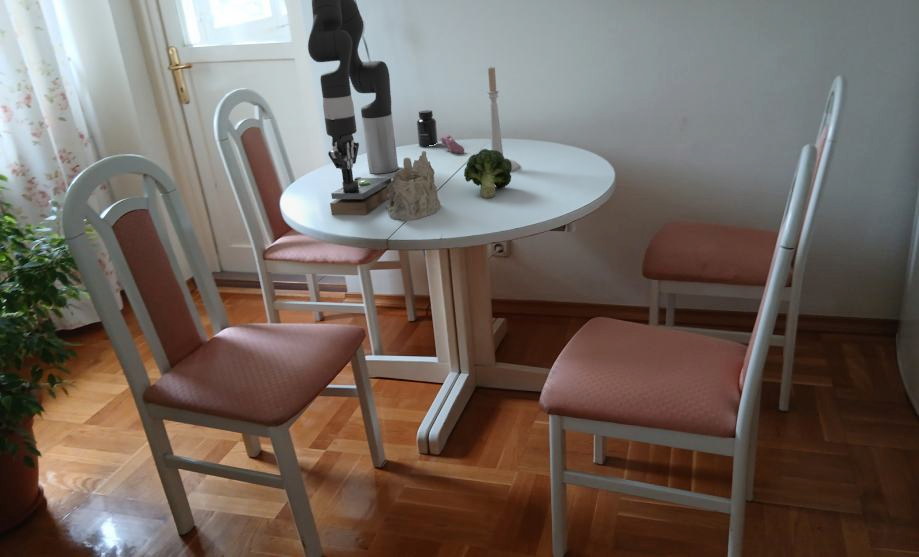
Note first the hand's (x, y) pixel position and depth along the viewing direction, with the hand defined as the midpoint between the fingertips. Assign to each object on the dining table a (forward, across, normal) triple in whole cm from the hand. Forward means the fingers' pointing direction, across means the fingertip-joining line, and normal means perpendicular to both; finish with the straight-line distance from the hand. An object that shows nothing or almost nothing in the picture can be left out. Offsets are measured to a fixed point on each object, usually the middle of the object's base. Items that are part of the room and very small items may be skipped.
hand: (348, 182), depth 191 cm
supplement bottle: (+6, -78, -8) cm, 78 cm away
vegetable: (+8, -20, +32) cm, 38 cm away
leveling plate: (+4, -7, 0) cm, 8 cm away
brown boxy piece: (+8, -8, 0) cm, 11 cm away
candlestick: (+7, -45, +27) cm, 53 cm away
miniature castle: (+8, -3, +15) cm, 17 cm away
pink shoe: (+6, -67, +5) cm, 68 cm away
